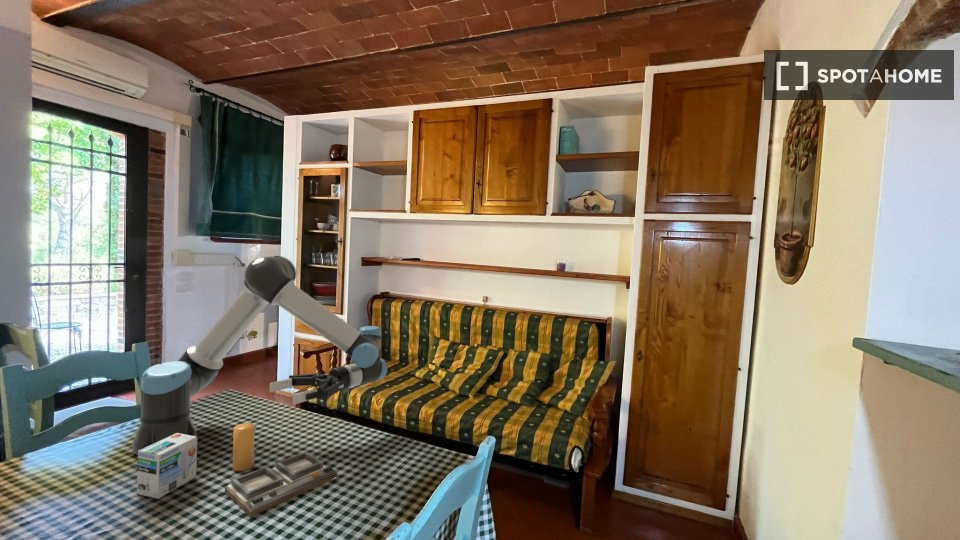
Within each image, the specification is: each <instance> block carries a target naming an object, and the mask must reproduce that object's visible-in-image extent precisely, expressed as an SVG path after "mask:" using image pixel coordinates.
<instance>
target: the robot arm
mask: <svg viewBox="0 0 960 540" xmlns="http://www.w3.org/2000/svg"><path fill="white" fill-rule="evenodd" d="M296 277H297V269H296V267H295V265H294V263H293V262H292V261H291V260H290V259H288V258H286V257H284V256H281V255H271V256H262V257H258V258H255V259H253V260H252V261H250V263H249V264H248V265H247V267H246V268H245V271H244V280H243V282H242V283H243V290H242V291H241V292H240V293H239V294H238V295H237V296H236V298H235V299H234V300H233V302H231V304H230V305H229V306H228V307H227V308H226V310H225V311H224V313H223V314H222V315H221V316H220V317H219V318H218V320H217V321H216V322H215V323H214V325H213V326H212V327H211V328H210V329H209V331H208V332H207V333H206V334H205V335H204V337H203V338H202V339H201V340H200V341H199V342H198V344H197V345H191V346H189V347H188V348H187V349H186V350H185V351H184V353H183V354H182V355H181V357H180V358H178V360H173V361H172V360H171V361H165V362H162V363H156V364H154V365H152V366H149V367H148V368H147V369H145V370H144V372H143V373H142V375H141V380H140V385H139V386H140V424H139V425H138V428H137V431H136V434H135V435H134V438H133V441H132V445H131V447H132V448H131V450H132V451H133V452H132V451H131V452H132V454H134V455H135V454H136V455H135V456H137V455H138V451H139V450H141V449H143V448H145V447H148V446H150V445H152V444H154V443H156V442H159V441H161V440H163V439H165V438H167V437H169V436H171V435H174V434H176V433H180V434H185V435H190V436H196V437H197V430H196V427H195V424H194V422H193V419H192V417H191V398H192V397H194V396H195V395H196V394H198V393H199V392H200V391H202V390H204V389H206V388H207V387H209V386H210V385H211V384H212V383H213V382H214V381H215V379H216V378H217V375H218V373H219V371H220V370H221V368H222V367H223V366H224V362H223V358H224V357H226V355H227V354H228V352H229V351H230V350H231V349H232V347H233V346H234V345H235V344H236V343H237V342H238V340H239V339H240V338H241V337H242V336H243V334H244V333H245V332H246V330H247V329H248V328H249V327H250V325H251V324H252V323H254V321H255V319H256V318H257V317H258V316H259V315H260V314H261V313H262V311H263V310H264V308H265V307H266V306H267V305H268V304H269V305H271V306H276V305H278V306H279V307H280V308H282V309H283V310H284V311H286V312H287V313H289V314H290V315H292V316H293V317H294V318H296V319H297V320H299V321H300V322H302V323H303V324H304V325H306V326H307V327H308V328H309V329H311V330H313V332H316V333H317V334H318V335H320V337H323V338H324V339H325V340H326V341H328V342H329V343H331V344H332V345H334V346H336V347H337V348H338V349H339V350H341V352H343V353H345V354H347V355H348V356H349V357H350V358H352V361H353V363H350V364H345V365H342V366H338V367H333V368H331V370H330V371H329V372H328V373H326V374H325V373H324V374H322V372H319V371H318V372H315V373H305V374H293V375H292V374H291V375H288V378H285V379H281V380H276V381H273V382H269V393H274V392H278V391H282V390H283V391H284V390H286V389H292V388H293V387H301V386H302V387H303V386H304V387H306V386H309V387H310V386H312V387H313V388H312V389H309V390H305V391H301V392H297V393H293V394H292V404H293V405H297V404H301V403H304V402H308V401H312V400H315V399H317V400H319V399H322V400H324V401H326V400H327V399H329V398H330V397H331V396H333V395H336V394H337V393H339V392H341V391H344V390H348V389H353V388H354V387H357V386H361V385H365V384H368V383H369V384H370V383H375V382H376V381H380V380H382V379H383V378H385V376H386V375H387V373H388V367H387V362H386V361H385V360H384V359H383V358H381V349H382V348H381V347H382V343H381V342H382V329H381V327H379V326H375V325H365V326H361V327H360V328H359V331H358V330H357V329H356V328H354V327H353V326H352V325H350V324H349V323H347V322H346V321H344V320H343V319H342V318H341V317H339V316H338V315H336V314H335V312H332V311H331V310H330V309H329V308H327V307H326V306H324V305H323V304H321V303H320V302H319V301H317V300H316V299H315V298H314V297H312V296H311V295H309V293H306V292H304V290H302V289H301V288H300V287H299V286H296V285H295V284H296V282H295V281H296V279H297V278H296ZM315 388H316V389H315Z"/></svg>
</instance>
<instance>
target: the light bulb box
mask: <svg viewBox="0 0 960 540" xmlns="http://www.w3.org/2000/svg"><path fill="white" fill-rule="evenodd" d="M197 457H198V436H197V435H196V436H190V435H185V434H180V433H176V434H174V435H171V436H169V437H167V438H165V439H163V440H161V441H159V442H156V443H154V444H152V445H150V446H148V447H145V448H143V449H141V450H139V451H138V456H137V474H136V476H137V477H136V479H137V480H136V494H137V495H141V496H145V497H149V498H154V499H157V500H158V499H161V498H162V497H164V496H165V495H167V494H169V493H171V492H173V491H174V490H176V489H177V488H179V487H181V486H183V485H184V484H186V483H188V482H189V481H191V480H193V479H194V478H196V477H197V462H198V461H197Z"/></svg>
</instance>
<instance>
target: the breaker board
mask: <svg viewBox="0 0 960 540" xmlns="http://www.w3.org/2000/svg"><path fill="white" fill-rule="evenodd" d="M335 477H337V478H338V473H337V472H336V469H334V468H333V466H331V465H329V466H327V465H325V464H324V461H322V460H320V459H319V458H317V457H315V456H314V455H313V454H311V453H309V452H308V451H305V452H302V453H299V454H296V455H293V456H290V457H288V458H285V459H283V460H280V461H278V462H276V463H275V467H273V468H270V467H269V466H264V467H262V468H259V469H256V470H254V471H251V472H248V473H245V474H242V475H239V476H238V477H235V478H232V479H231V483H230V484H228V485H226V486H224V493H225V494H226V495H227V496H228V497H230V499H231V500H232V501H234V502H235V504H236V505H238V506H239V507H240V508H241V510H243V511H244V512H245V513H246V514H247V515H248V516H249V517H253V516H256V515H258V514H260V513H263V512H265V511H266V510H269V509H271V508H273V507H276V506H277V505H280V504H282V503H285V502H287V501H289V500H291V499H294V498H296V497H297V496H298V497H299V495H302V494H304V493H306V492H309V491H310V490H312V489H315V488H317V487H319V486H321V484H322V485H323V483H324V484H326V483H328V482H330V481H332V480H331V479H333V478H335ZM335 479H336V478H335ZM329 480H330V481H329ZM333 480H334V479H333ZM327 481H328V482H327ZM325 482H326V483H325Z"/></svg>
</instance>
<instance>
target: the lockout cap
mask: <svg viewBox="0 0 960 540" xmlns="http://www.w3.org/2000/svg"><path fill="white" fill-rule="evenodd" d="M255 426H256V425H255V424H254V423H252V422H251V423H249V422H246V423H240V424H238V425H236V426H234V427H233V437H232V438H233V440H232V441H233V442H232V470H233V471H235V472H243V471H248V470H250V469H252V467H254V463H255V459H254V458H255V431H256V430H255Z"/></svg>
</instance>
